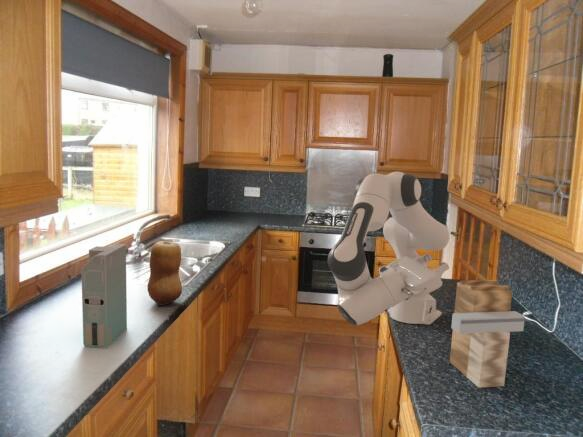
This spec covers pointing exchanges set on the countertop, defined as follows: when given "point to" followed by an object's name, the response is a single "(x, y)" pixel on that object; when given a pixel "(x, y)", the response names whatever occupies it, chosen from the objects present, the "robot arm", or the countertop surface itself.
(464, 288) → the tall wood grain block
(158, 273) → the butternut squash
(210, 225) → the countertop surface
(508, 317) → the foil carton
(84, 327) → the device
